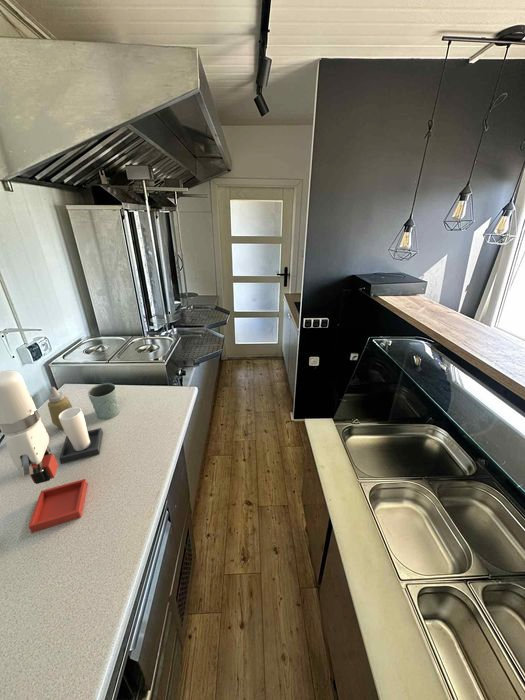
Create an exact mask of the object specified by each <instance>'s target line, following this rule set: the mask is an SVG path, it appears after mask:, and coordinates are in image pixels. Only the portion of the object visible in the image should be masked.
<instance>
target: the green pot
mask: <svg viewBox="0 0 525 700" xmlns="http://www.w3.org/2000/svg"><path fill="white" fill-rule="evenodd" d="M87 395H88V398H89V400H90V402H91V404H92V407H93V409H94V412H95V416H96V417H97V419H99V420H101V421H106V420H111V419H113V418H115V417H116V416H118V415H119V413H120V404H119V400H118V393H117V386H116V385H115V384H113V383H111V382H104V383H100V384H96V385H94V386H93V387H91V388H90V389H89V390H88V391H87Z"/></svg>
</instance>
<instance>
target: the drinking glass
mask: <svg viewBox="0 0 525 700" xmlns="http://www.w3.org/2000/svg"><path fill="white" fill-rule="evenodd" d="M72 407H73V406H72ZM59 420H60V423H61V425H62V428H63V429H64V430H63V432H64V433H65V435H66V436H67V437H68V438H69V440H70V442H71V444H72V446H73V448H74V450H76V451H82V450H85V449H86V448H88V447H89V446H90V443H91V442H90V439H89V435H88V431H89V430H88V428H87V422H86V418H85V415H84V413H83V410H82V409H81V407H77V406H75V407H73V408H69V409H66V410H64V411H63V412H61V413H60V414H59Z"/></svg>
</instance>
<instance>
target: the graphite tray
mask: <svg viewBox="0 0 525 700" xmlns="http://www.w3.org/2000/svg"><path fill="white" fill-rule="evenodd" d="M87 431H88V435H89V439H90V442H91V443H90V446H89V447H88V448H86V449H85V450H82V451H76V450H74V448H73V446H72V444H71V442H70V440H69V438H68V437H67V435H66V436H65V439H64V441H63V445H62V448H61V451H60V454H59V457H58V459H59V462H60V464H61V465H62V464H66V463H70V462H75V461H78V460H83V459H85V458H91V457H94V456H96V455H100V453H101V447H102V441H103V435H104V432H103V428H102V427H100V428H94V429H89V430H87Z"/></svg>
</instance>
